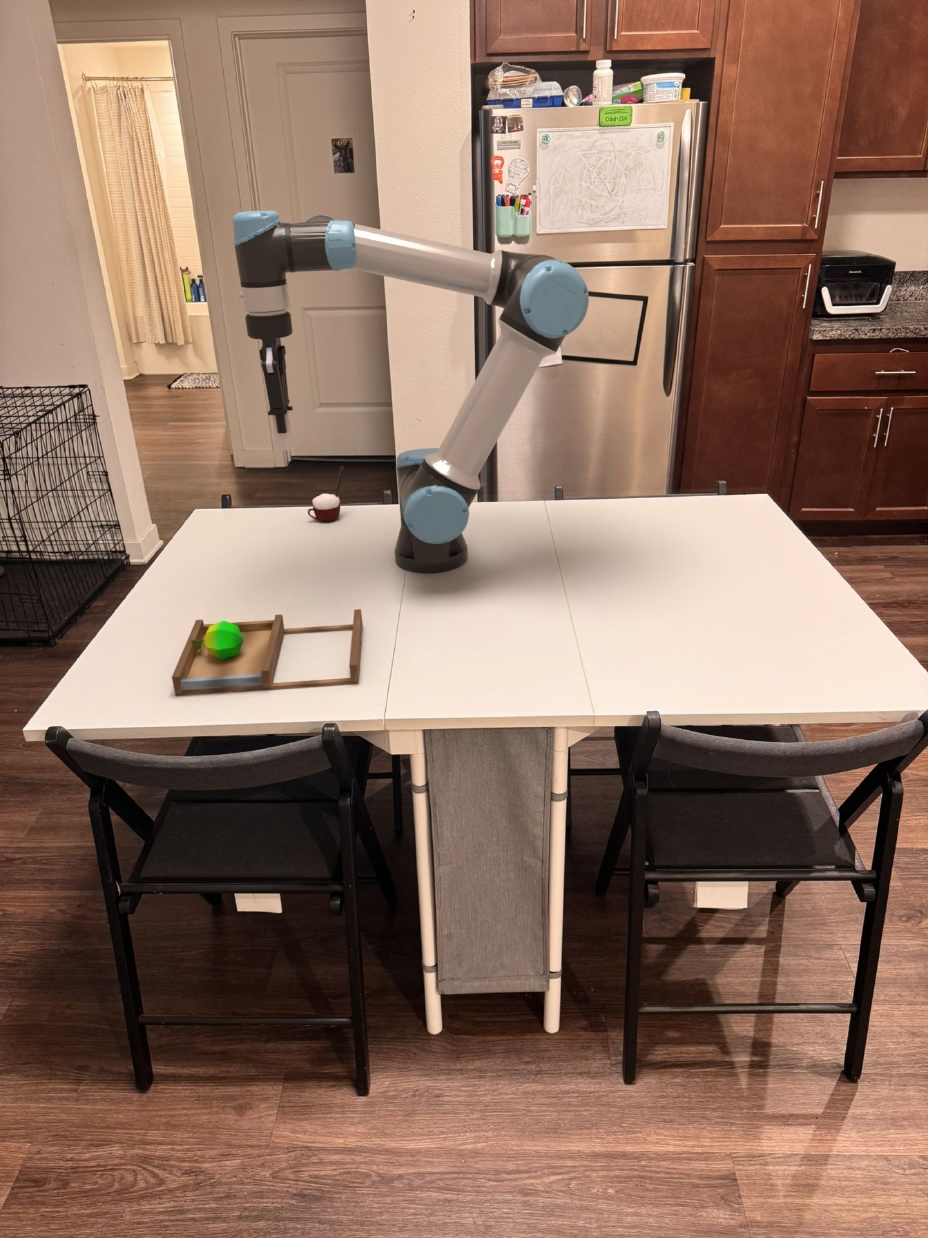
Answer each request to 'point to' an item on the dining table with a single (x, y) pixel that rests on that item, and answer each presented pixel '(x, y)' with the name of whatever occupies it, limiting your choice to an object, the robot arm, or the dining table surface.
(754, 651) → the dining table surface
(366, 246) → the robot arm
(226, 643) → the apple
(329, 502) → the cocoa
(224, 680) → the frame
